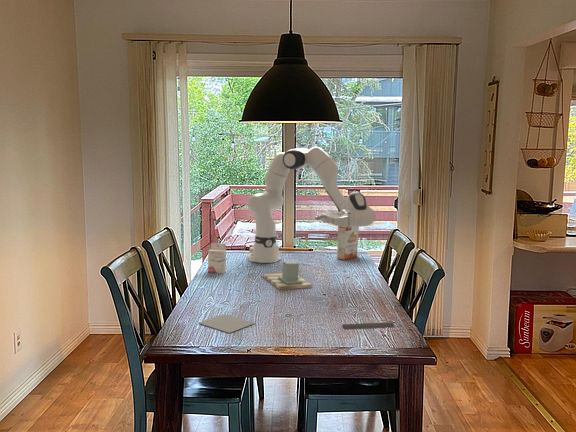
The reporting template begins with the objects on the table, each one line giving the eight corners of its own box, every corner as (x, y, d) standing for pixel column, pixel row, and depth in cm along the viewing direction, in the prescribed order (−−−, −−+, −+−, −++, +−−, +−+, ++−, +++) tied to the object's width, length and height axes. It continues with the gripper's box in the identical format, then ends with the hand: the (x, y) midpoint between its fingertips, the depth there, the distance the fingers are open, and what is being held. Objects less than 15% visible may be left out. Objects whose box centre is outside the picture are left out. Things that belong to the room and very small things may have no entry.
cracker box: (345, 260, 323) (346, 224, 320) (336, 258, 327) (337, 223, 324) (358, 256, 334) (359, 221, 331) (349, 255, 337) (350, 220, 334)
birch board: (263, 276, 283) (263, 273, 283) (292, 274, 289) (292, 271, 289) (279, 290, 259) (279, 286, 259) (311, 287, 265) (311, 284, 264)
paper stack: (240, 309, 230) (240, 308, 230) (287, 323, 215) (287, 321, 215) (197, 324, 212) (197, 322, 212) (246, 340, 197) (246, 338, 197)
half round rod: (394, 328, 211) (395, 324, 211) (344, 331, 208) (344, 326, 208) (391, 325, 215) (391, 320, 215) (341, 327, 212) (341, 322, 212)
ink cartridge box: (207, 272, 290) (207, 244, 288) (210, 270, 295) (210, 242, 292) (224, 273, 289) (224, 245, 287) (226, 271, 294) (226, 243, 292)
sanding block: (278, 278, 274) (278, 260, 272) (293, 277, 276) (294, 259, 275) (286, 285, 262) (286, 265, 261) (302, 283, 265) (302, 264, 264)
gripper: (336, 209, 290) (311, 210, 286) (354, 215, 271) (327, 216, 267) (336, 221, 291) (311, 222, 286) (353, 227, 272) (327, 229, 267)
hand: (319, 219), depth 276 cm, fingers open, 8 cm apart
